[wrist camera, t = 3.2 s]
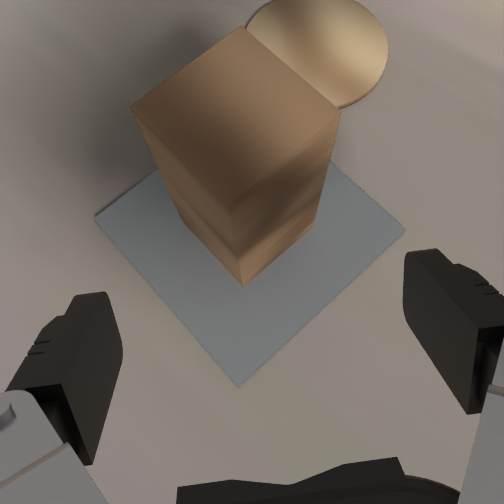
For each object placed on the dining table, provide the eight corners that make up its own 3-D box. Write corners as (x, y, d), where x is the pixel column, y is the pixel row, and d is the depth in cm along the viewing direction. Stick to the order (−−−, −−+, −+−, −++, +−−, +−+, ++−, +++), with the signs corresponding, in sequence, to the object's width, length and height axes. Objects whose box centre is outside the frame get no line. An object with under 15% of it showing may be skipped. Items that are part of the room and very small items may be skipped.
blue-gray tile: (255, 97, 28) (254, 93, 27) (404, 232, 25) (406, 229, 24) (95, 221, 25) (92, 218, 25) (238, 388, 22) (237, 387, 22)
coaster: (314, -24, 31) (315, -31, 30) (416, 53, 28) (418, 47, 28) (213, 50, 29) (212, 44, 28) (313, 139, 27) (313, 134, 26)
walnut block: (249, 165, 26) (239, 24, 16) (312, 226, 24) (342, 111, 15) (181, 220, 25) (128, 105, 15) (243, 287, 23) (227, 206, 14)
